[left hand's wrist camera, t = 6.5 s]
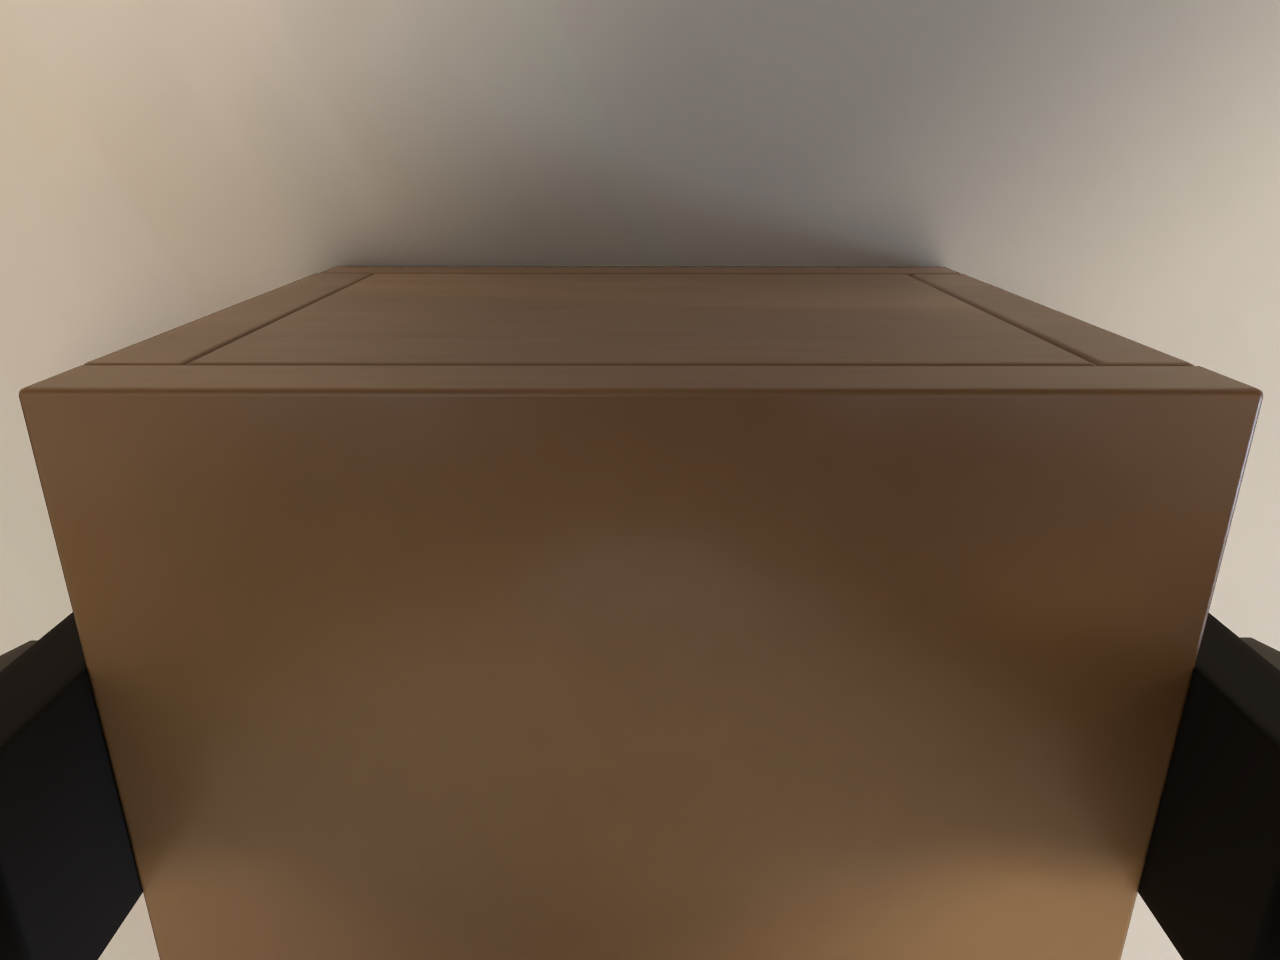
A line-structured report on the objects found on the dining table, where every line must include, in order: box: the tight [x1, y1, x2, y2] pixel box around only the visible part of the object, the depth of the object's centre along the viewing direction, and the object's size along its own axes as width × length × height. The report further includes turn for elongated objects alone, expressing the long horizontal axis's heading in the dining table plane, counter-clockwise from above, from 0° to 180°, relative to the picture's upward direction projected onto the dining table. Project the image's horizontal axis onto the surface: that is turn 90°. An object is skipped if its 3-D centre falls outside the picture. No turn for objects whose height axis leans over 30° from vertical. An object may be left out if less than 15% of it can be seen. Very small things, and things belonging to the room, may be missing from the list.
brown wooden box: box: [19, 266, 1263, 960], centre depth 14 cm, size 19×10×8 cm, turn 0°
